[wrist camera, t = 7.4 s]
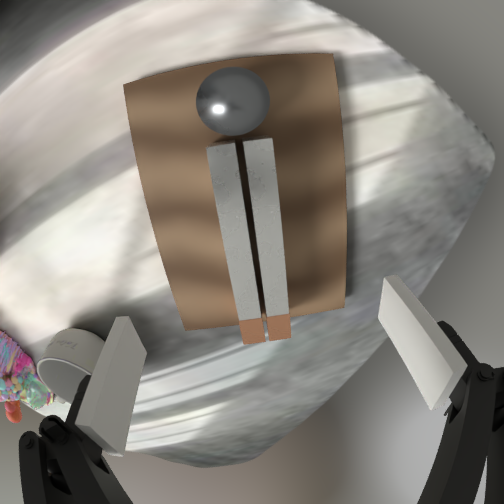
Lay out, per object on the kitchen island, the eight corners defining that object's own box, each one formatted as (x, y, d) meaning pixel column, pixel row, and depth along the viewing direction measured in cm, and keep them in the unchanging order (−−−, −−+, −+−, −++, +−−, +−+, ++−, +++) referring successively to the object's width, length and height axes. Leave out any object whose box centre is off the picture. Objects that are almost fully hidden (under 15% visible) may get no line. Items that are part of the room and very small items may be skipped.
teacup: (83, 304, 31) (56, 348, 23) (141, 359, 35) (128, 405, 28) (41, 340, 33) (19, 376, 26) (90, 383, 38) (75, 421, 31)
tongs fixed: (198, 81, 20) (190, 73, 16) (259, 72, 20) (264, 62, 16) (241, 317, 30) (242, 344, 27) (287, 310, 30) (293, 337, 26)
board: (129, 86, 21) (123, 84, 19) (327, 56, 20) (332, 53, 19) (187, 322, 32) (185, 330, 31) (340, 299, 32) (344, 307, 31)
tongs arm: (241, 138, 22) (242, 141, 19) (266, 135, 22) (272, 138, 19) (265, 314, 30) (269, 341, 26) (285, 312, 30) (291, 337, 26)
